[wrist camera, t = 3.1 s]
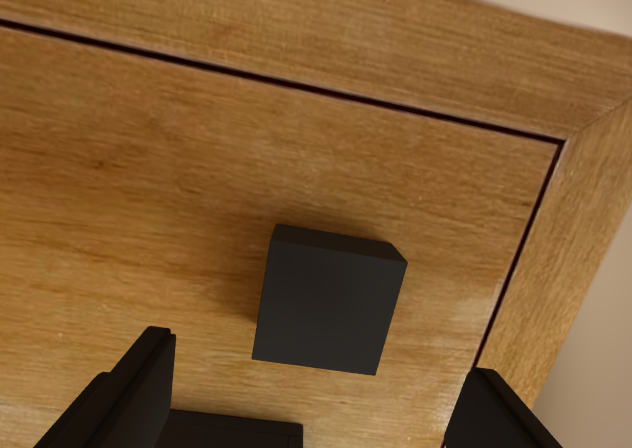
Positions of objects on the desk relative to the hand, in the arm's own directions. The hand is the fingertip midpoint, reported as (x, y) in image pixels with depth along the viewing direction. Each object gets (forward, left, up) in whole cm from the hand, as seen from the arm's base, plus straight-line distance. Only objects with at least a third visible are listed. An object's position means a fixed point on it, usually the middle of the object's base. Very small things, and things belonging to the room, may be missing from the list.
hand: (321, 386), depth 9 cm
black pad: (0, 0, -7) cm, 7 cm away
